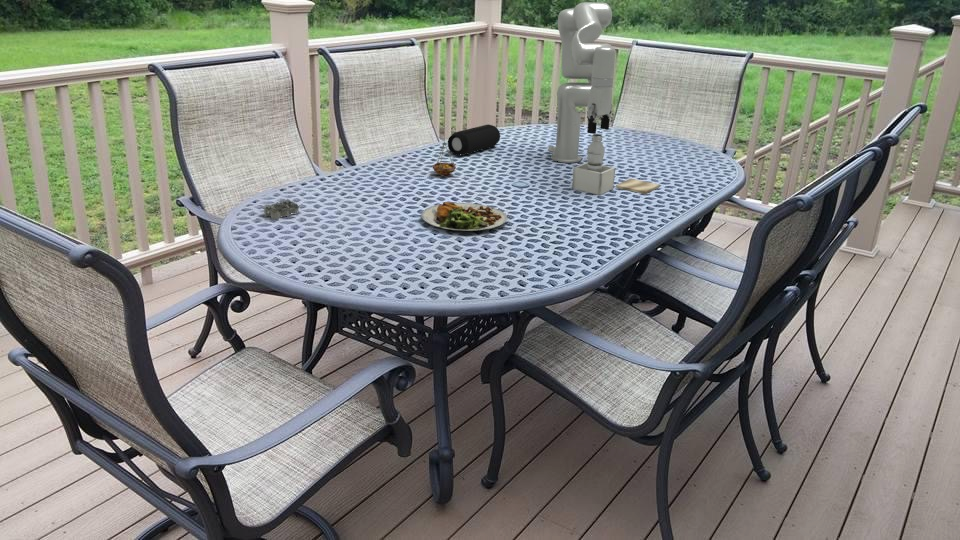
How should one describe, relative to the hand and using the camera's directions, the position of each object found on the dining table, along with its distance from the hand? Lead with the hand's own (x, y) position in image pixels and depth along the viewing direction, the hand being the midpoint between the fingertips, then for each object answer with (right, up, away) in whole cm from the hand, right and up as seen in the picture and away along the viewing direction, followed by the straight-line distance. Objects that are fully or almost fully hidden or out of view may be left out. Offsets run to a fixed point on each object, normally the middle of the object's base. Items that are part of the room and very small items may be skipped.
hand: (598, 131), depth 286 cm
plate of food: (-48, -34, -28) cm, 65 cm away
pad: (+17, -19, +12) cm, 28 cm away
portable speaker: (-45, +1, +55) cm, 71 cm away
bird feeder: (-56, -14, +19) cm, 61 cm away
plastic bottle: (-1, -20, +9) cm, 22 cm away
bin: (-1, -20, +9) cm, 22 cm away
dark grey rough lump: (-107, -32, -28) cm, 115 cm away
